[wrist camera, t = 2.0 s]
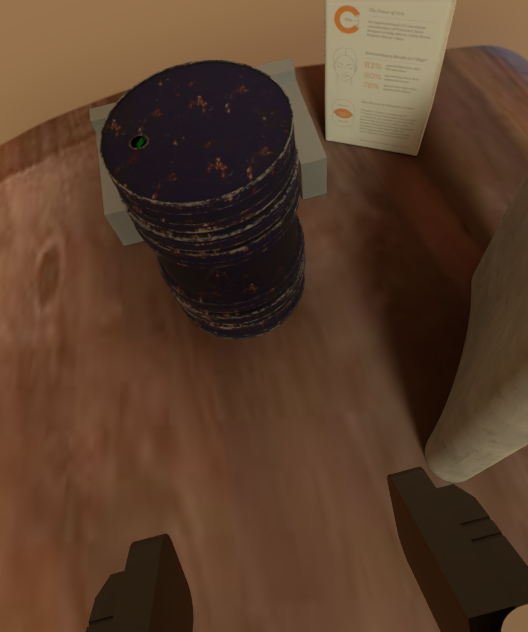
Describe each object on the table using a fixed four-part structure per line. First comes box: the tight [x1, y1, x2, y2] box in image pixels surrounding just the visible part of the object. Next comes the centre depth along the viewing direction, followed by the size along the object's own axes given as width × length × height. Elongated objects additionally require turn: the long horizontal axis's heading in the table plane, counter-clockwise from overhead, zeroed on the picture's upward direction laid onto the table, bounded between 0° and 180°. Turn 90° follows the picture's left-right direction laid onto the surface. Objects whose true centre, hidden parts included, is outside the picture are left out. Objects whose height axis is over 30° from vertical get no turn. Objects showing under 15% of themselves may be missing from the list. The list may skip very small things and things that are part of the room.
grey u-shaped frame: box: [89, 58, 327, 246], centre depth 40 cm, size 17×10×5 cm, turn 103°
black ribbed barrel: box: [99, 60, 305, 339], centre depth 31 cm, size 10×10×15 cm
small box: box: [325, 0, 456, 156], centre depth 37 cm, size 8×6×13 cm
